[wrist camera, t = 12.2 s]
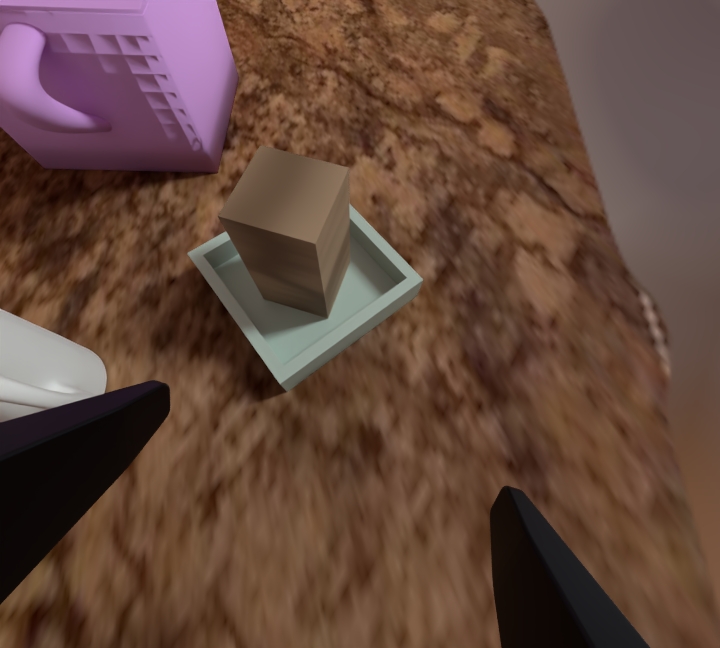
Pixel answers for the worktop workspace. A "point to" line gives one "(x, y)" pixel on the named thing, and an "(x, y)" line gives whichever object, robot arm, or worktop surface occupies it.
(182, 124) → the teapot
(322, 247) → the walnut block
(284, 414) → the worktop surface
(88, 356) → the mug
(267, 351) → the tray
